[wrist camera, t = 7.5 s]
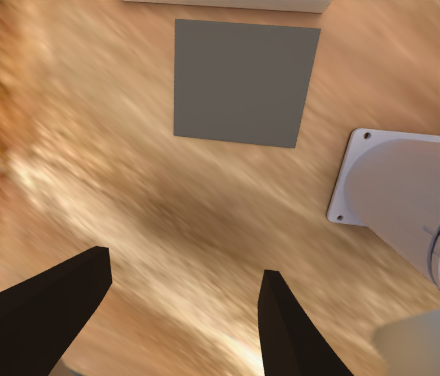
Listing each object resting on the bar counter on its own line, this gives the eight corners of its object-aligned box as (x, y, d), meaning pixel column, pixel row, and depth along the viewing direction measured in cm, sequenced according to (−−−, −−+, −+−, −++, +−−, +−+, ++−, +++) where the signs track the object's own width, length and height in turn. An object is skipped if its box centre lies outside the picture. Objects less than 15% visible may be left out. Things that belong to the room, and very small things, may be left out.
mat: (318, 31, 14) (320, 28, 14) (293, 147, 17) (295, 148, 16) (176, 21, 15) (175, 18, 14) (175, 134, 17) (173, 135, 17)
